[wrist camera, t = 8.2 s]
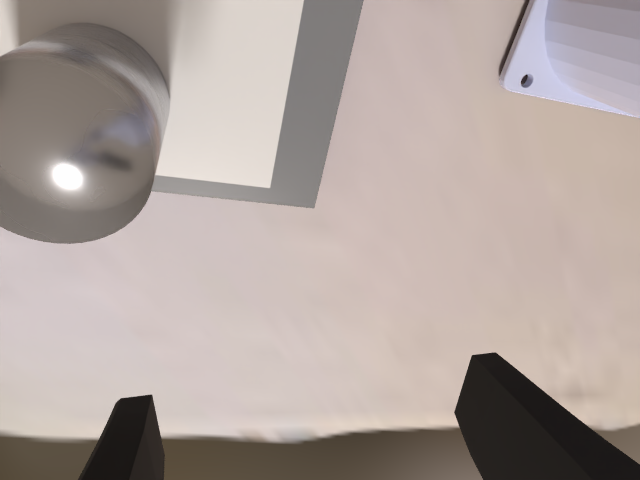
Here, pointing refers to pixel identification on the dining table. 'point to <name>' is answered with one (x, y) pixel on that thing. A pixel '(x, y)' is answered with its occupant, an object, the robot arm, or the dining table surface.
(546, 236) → the dining table surface
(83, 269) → the dining table surface
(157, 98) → the cylinder
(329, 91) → the scale
